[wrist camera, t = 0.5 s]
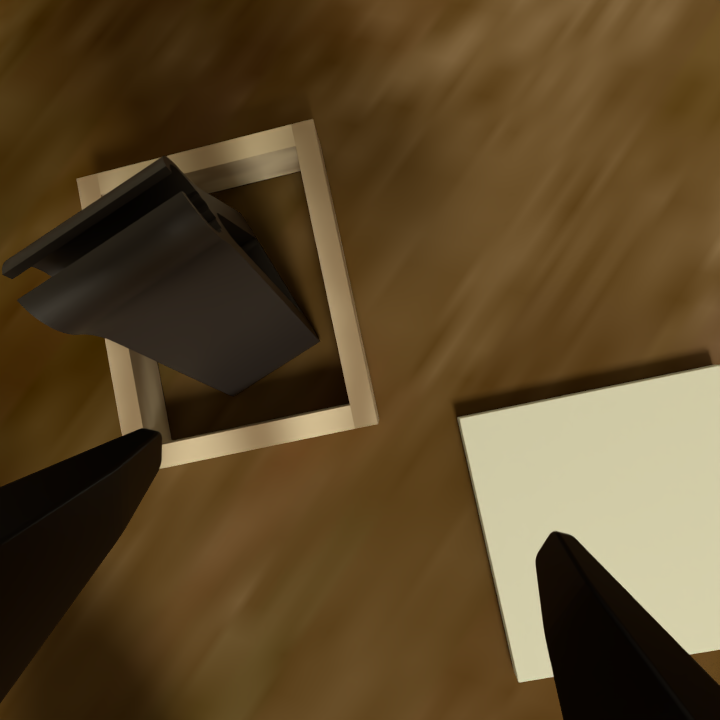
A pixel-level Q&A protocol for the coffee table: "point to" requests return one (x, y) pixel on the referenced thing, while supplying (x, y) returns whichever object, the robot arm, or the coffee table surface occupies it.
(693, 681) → the robot arm
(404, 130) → the coffee table surface
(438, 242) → the coffee table surface
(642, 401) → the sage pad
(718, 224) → the coffee table surface
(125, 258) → the phone stand
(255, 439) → the birch pocket
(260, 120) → the coffee table surface
